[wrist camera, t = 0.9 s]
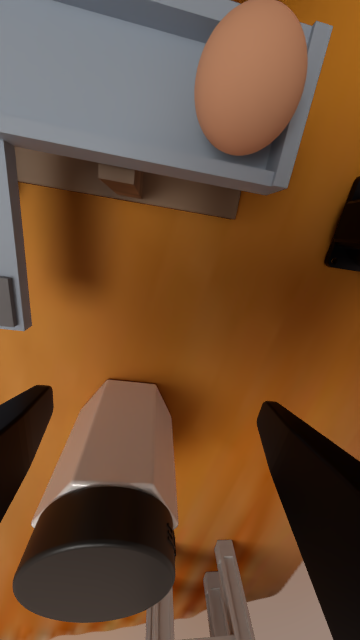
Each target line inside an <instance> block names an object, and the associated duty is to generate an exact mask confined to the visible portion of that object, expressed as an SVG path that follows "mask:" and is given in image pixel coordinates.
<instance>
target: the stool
mask: <svg viewBox="0 0 360 640" xmlns="http://www.w3.org/2000/svg"><path fill="white" fill-rule="evenodd" d="M215 555H216V561H217V567H218V572H206V573H205V576H204V579H203V581H204V589H205V597H206V605H207V613H208V621H209V629H210V637H208V638H195V639H184V640H255V637H254V633H253V628H252V624H251V620H250V616H249V611H248V607H247V603H246V598H245V594H244V590H243V586H242V581H241V577H240V573H239V569H238V564H237V560H236V556H235V551H234V547H233V543H232V540H218V541H217V543H216V546H215ZM146 640H174V617H173V590H172V588H171V590H170V591H169V593H168V594H167V595H166V596H165V597H164V598H163V599H162V600H161V601H160V602H158V603H157V604H155V605H154V606H152V607H150V608H148V609H147V615H146Z"/></svg>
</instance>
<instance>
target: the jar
mask: <svg viewBox="0 0 360 640" xmlns="http://www.w3.org/2000/svg"><path fill="white" fill-rule="evenodd" d="M31 524H32V527H33V528H34V531H33V533H32V535H31V538H30V540H29V542H28V545H27V547H26V550H25V552H24V554H23V557H22V559H21V561H20V564H19V566H18V569H17V571H16V573H15V576H14V580H13V592H14V595H15V597H16V598H17V600H18V601H19V602H20V604H21V605H23V606H24V607H25V608H26V609H28V610H29V611H31V612H33V613H35V614H38V615H40V616H43V617H46V618H50V619H54V620H59V621H66V622H80V623H88V622H103V621H110V620H116V619H120V618H124V617H128V616H131V615H134V614H137V613H140V612H142V611H144V610H147V609H148V608H150V607H152V606H154V605H155V604H157V603H158V602H160V601H161V600H162V599H163V598H164V597H165V596H166V595H167V594H168V593H169V591H170V590H171V588H172V586H173V584H174V580H175V556H176V549H175V535H174V531H173V530H174V529H175V528H176V527H177V526H178V510H177V494H176V479H175V463H174V448H173V432H172V417H171V415H170V413H169V411H168V409H167V407H166V405H165V403H164V401H163V398H162V396H161V394H160V392H159V390H158V388H157V386H156V385H155V384H148V383H138V382H129V381H119V380H106V381H105V383H104V384H103V385H102V386H101V387H100V388H99V390H98V391H97V392H96V393H95V394H94V395H93V396H92V398H91V399H90V400H89V401H88V402H87V403H86V404H85V406H84V407H83V408H82V409H81V411H80V413H79V415H78V417H77V420H76V422H75V424H74V426H73V429H72V431H71V433H70V436H69V438H68V440H67V442H66V445H65V447H64V449H63V451H62V454H61V456H60V458H59V461H58V463H57V465H56V467H55V470H54V472H53V474H52V476H51V479H50V481H49V483H48V486H47V488H46V490H45V492H44V495H43V497H42V499H41V501H40V504H39V506H38V508H37V511H36V513H35V515H34V517H33V520H32V523H31Z"/></svg>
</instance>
